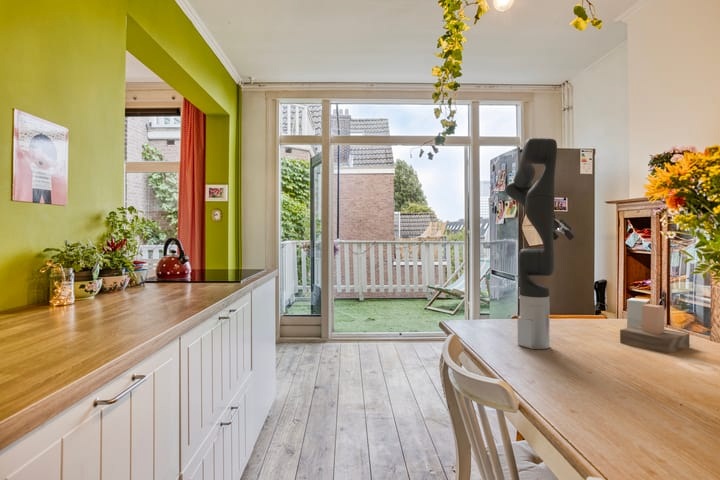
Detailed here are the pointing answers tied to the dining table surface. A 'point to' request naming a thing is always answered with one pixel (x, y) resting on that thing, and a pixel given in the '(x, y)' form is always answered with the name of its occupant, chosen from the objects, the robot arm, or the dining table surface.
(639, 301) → the small box
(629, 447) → the dining table surface
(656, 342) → the walnut block
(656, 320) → the terracotta block
